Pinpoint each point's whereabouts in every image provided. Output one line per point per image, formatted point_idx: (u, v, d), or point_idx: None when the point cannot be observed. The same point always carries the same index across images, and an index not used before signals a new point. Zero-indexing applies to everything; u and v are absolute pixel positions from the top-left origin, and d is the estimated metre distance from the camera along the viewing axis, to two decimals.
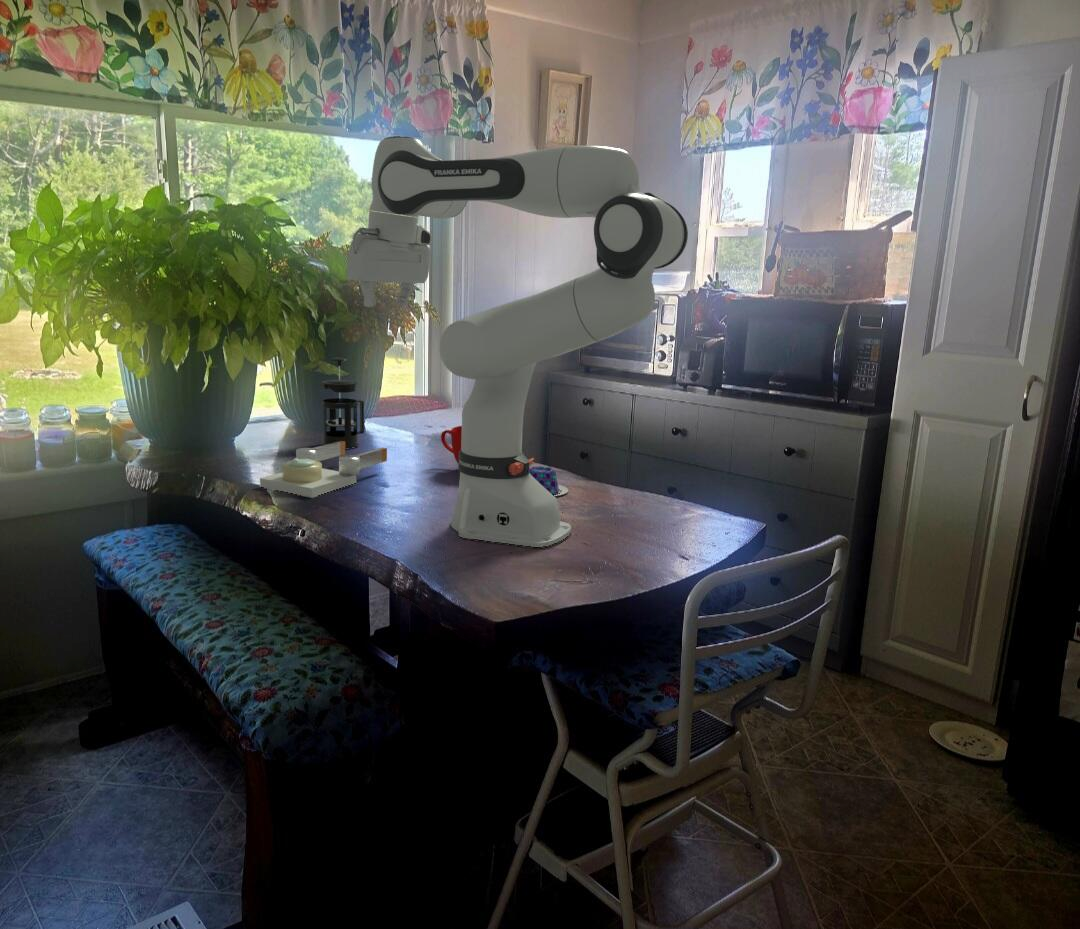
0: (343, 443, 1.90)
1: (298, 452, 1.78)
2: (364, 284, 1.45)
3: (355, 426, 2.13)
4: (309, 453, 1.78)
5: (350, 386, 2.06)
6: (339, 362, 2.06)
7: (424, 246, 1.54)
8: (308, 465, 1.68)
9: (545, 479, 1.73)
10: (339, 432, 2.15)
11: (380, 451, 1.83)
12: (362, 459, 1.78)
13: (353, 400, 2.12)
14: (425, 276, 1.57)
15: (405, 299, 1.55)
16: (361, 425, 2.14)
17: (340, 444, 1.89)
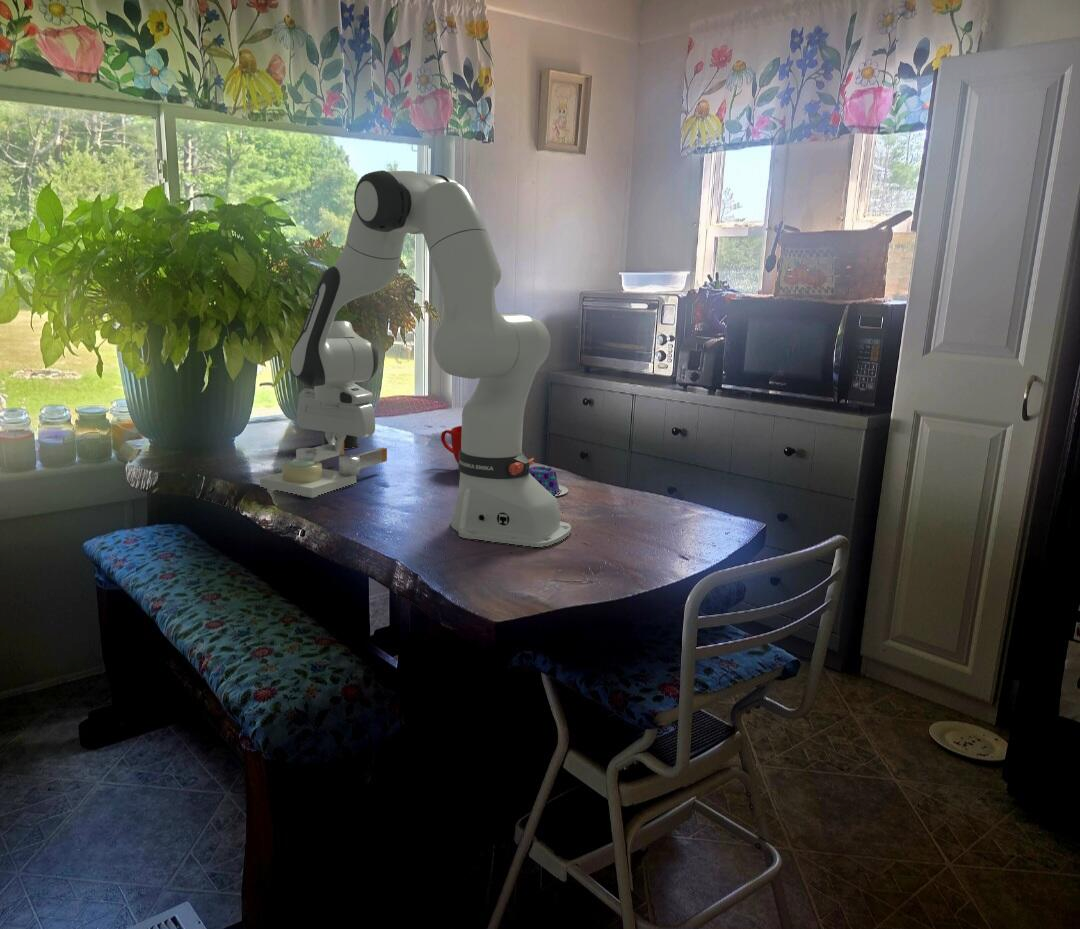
0: None
1: (298, 452, 1.78)
2: None
3: None
4: (309, 453, 1.78)
5: None
6: None
7: (350, 405, 1.79)
8: (308, 465, 1.68)
9: (543, 479, 1.73)
10: None
11: (380, 451, 1.83)
12: (362, 459, 1.78)
13: None
14: (361, 431, 1.80)
15: (334, 445, 1.85)
16: None
17: None
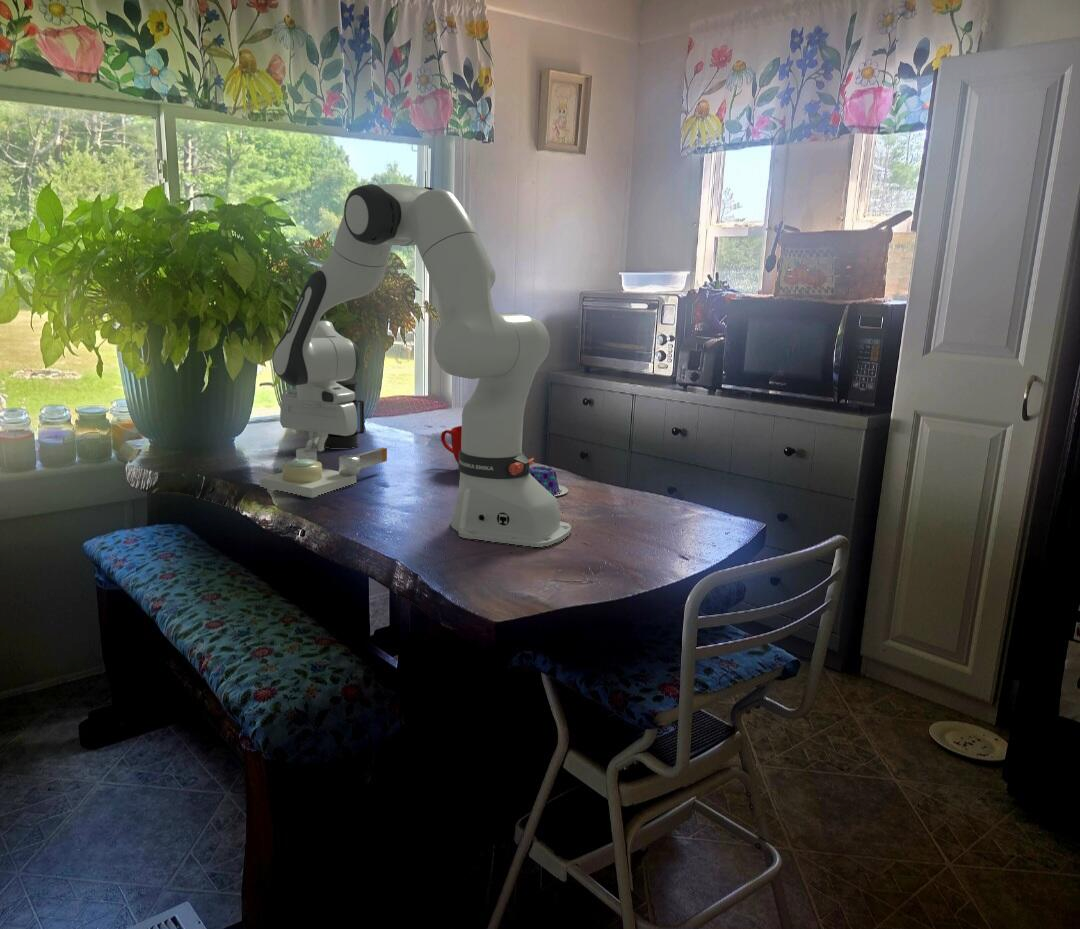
0: None
1: (303, 453, 1.77)
2: None
3: None
4: (314, 452, 1.79)
5: (350, 386, 2.06)
6: None
7: (332, 404, 1.81)
8: (308, 465, 1.68)
9: (543, 479, 1.73)
10: None
11: (380, 451, 1.83)
12: (362, 459, 1.78)
13: (353, 400, 2.12)
14: (343, 430, 1.81)
15: (316, 444, 1.87)
16: (361, 425, 2.14)
17: None
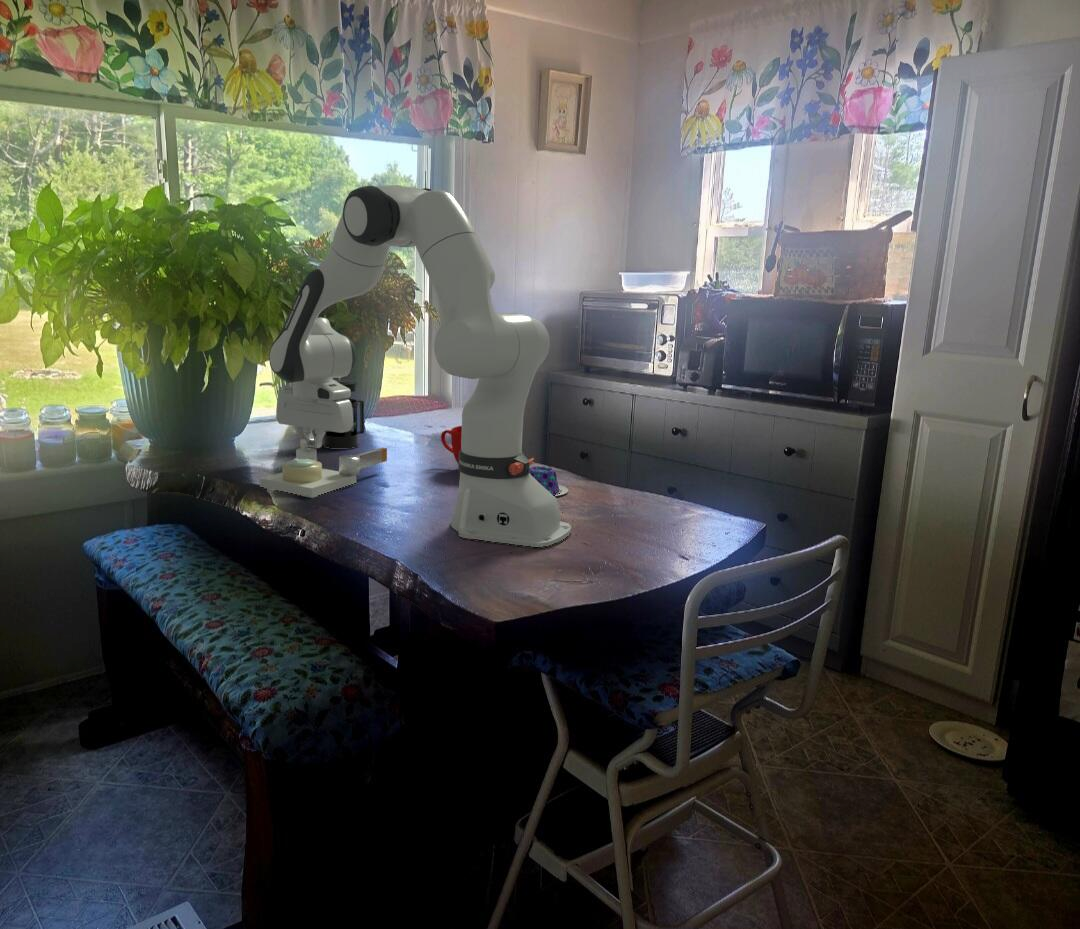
0: (305, 440, 1.91)
1: (305, 453, 1.77)
2: None
3: (355, 426, 2.13)
4: (315, 452, 1.79)
5: (350, 386, 2.06)
6: None
7: (328, 401, 1.81)
8: (308, 465, 1.68)
9: (542, 479, 1.73)
10: None
11: (380, 451, 1.83)
12: (362, 459, 1.78)
13: (353, 400, 2.12)
14: (338, 426, 1.82)
15: (313, 441, 1.87)
16: (361, 425, 2.14)
17: None
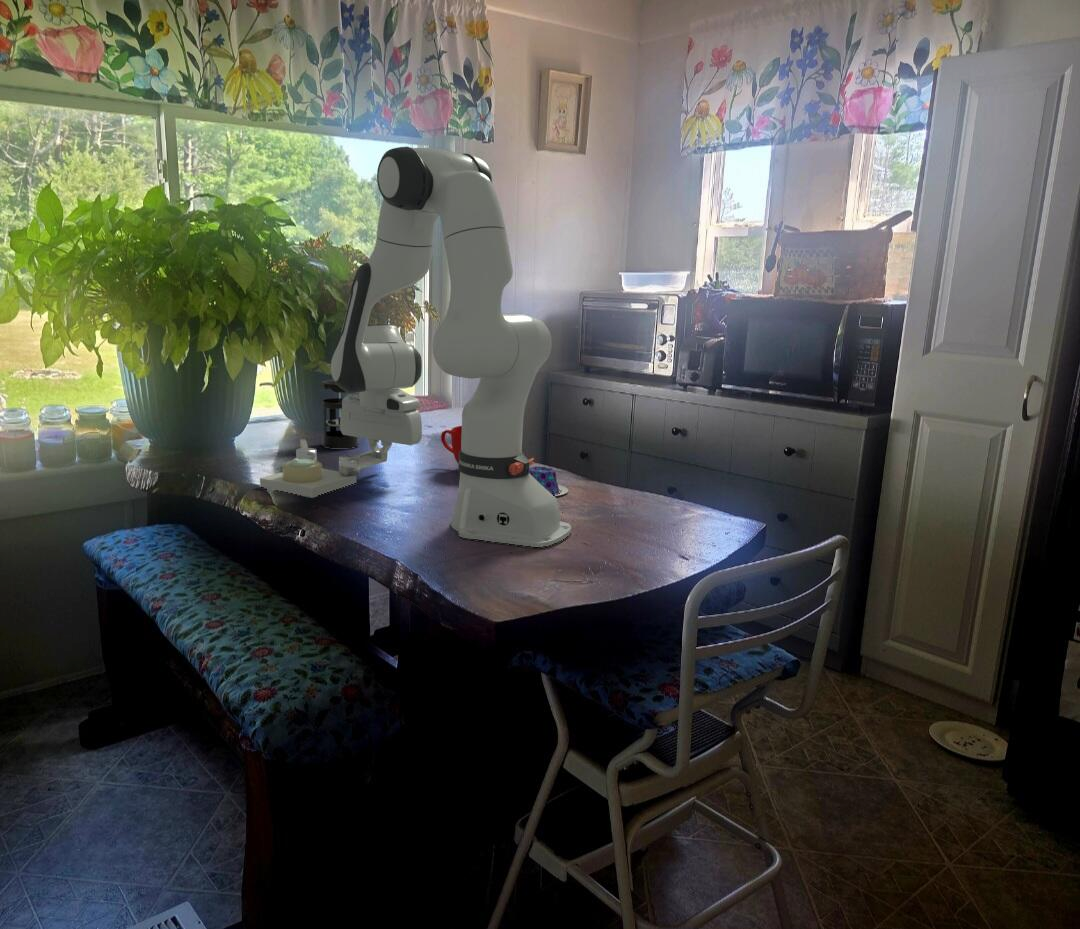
0: (305, 440, 1.91)
1: (305, 453, 1.77)
2: None
3: None
4: (315, 452, 1.79)
5: None
6: None
7: (397, 412, 1.73)
8: (308, 465, 1.68)
9: (540, 479, 1.73)
10: (339, 432, 2.15)
11: None
12: (362, 459, 1.78)
13: None
14: (408, 439, 1.74)
15: (379, 453, 1.80)
16: None
17: None
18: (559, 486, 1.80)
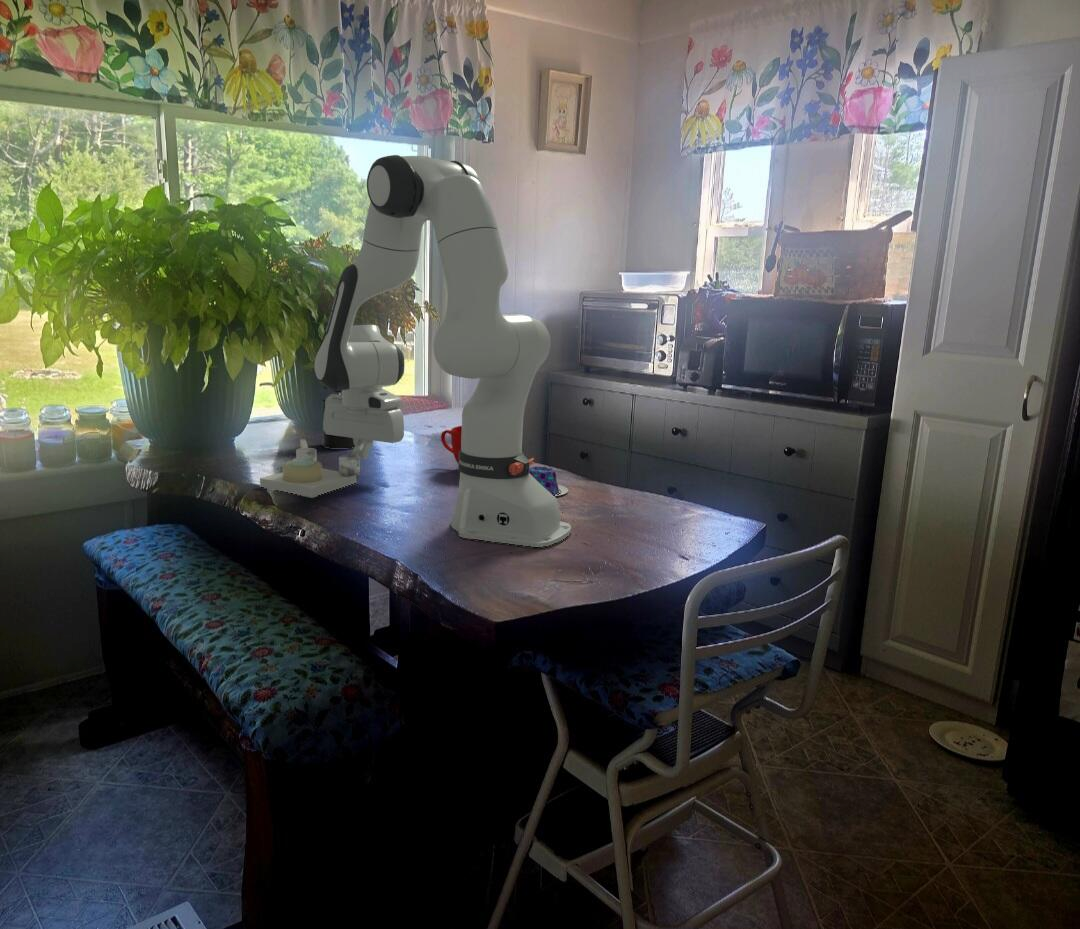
0: (305, 440, 1.91)
1: (305, 453, 1.77)
2: None
3: None
4: (315, 452, 1.79)
5: None
6: None
7: (379, 410, 1.75)
8: (308, 465, 1.68)
9: (539, 479, 1.73)
10: None
11: None
12: None
13: None
14: (390, 437, 1.76)
15: (360, 452, 1.82)
16: None
17: None
18: (560, 486, 1.80)
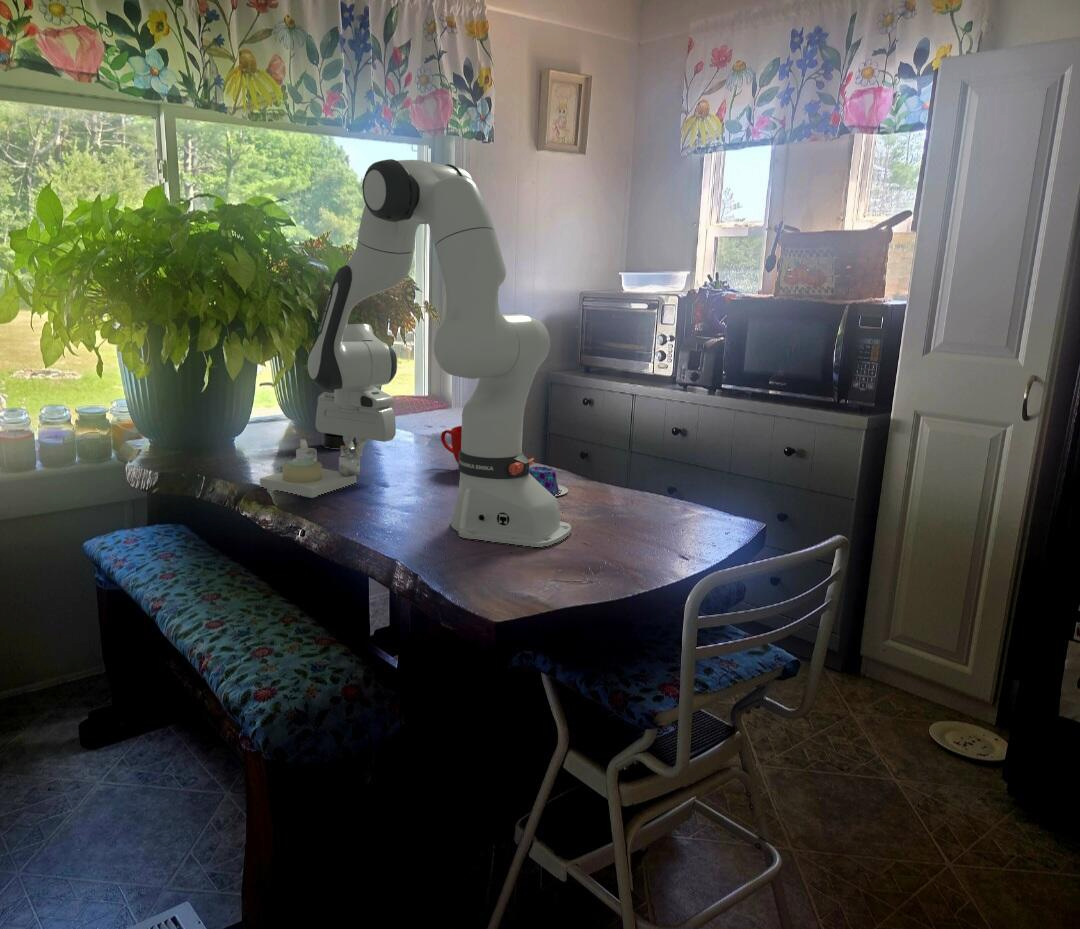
0: (305, 440, 1.91)
1: (305, 453, 1.77)
2: None
3: None
4: (315, 452, 1.79)
5: None
6: None
7: (371, 409, 1.76)
8: (308, 465, 1.68)
9: (539, 479, 1.73)
10: None
11: (347, 449, 1.84)
12: None
13: None
14: (381, 435, 1.77)
15: (354, 450, 1.83)
16: None
17: None
18: (560, 486, 1.80)
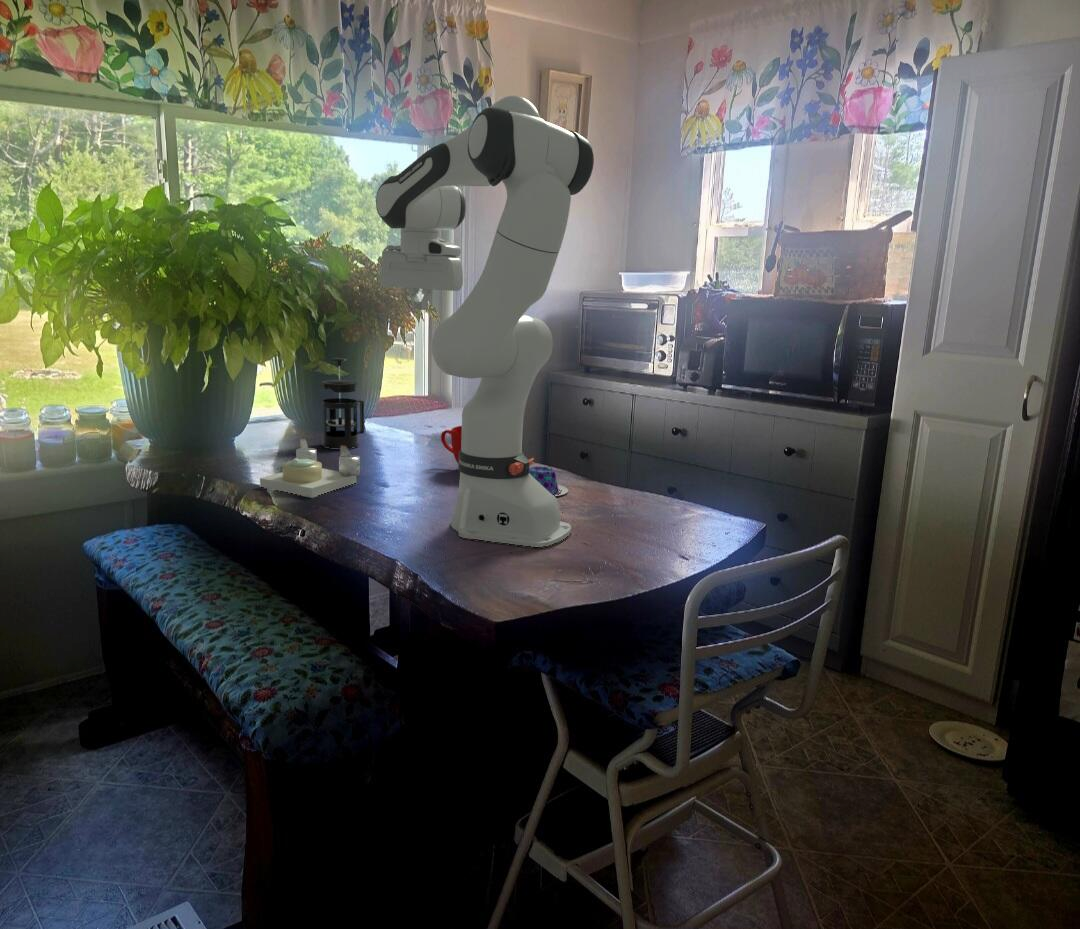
0: (305, 440, 1.91)
1: (305, 453, 1.77)
2: None
3: (355, 426, 2.13)
4: (315, 452, 1.79)
5: (350, 386, 2.06)
6: (339, 362, 2.06)
7: (439, 256, 1.74)
8: (308, 465, 1.68)
9: (537, 479, 1.73)
10: (339, 432, 2.15)
11: (346, 449, 1.84)
12: None
13: (353, 400, 2.12)
14: (449, 284, 1.75)
15: (420, 303, 1.80)
16: (361, 425, 2.14)
17: None
18: (562, 487, 1.79)
